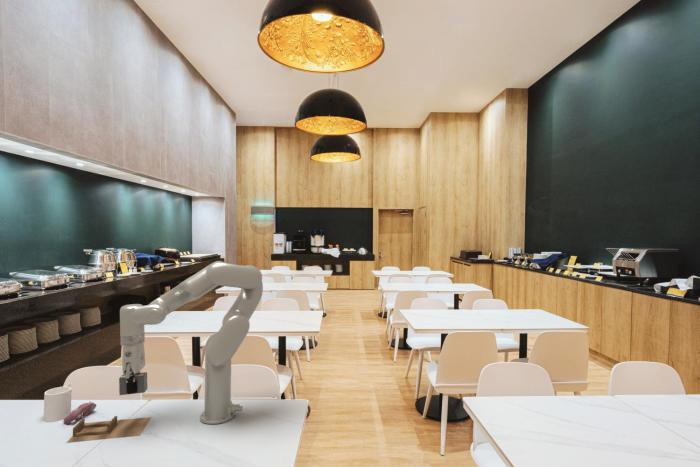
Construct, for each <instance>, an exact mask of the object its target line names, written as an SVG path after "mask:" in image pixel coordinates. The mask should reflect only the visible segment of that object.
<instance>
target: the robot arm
mask: <svg viewBox="0 0 700 467" xmlns="http://www.w3.org/2000/svg"><path fill="white" fill-rule="evenodd" d="M263 284H264V283H263V274H262V272H261V270H260V269H259V268H258V267H256V266H255V265H251V264H246V265H240V264H234V263H228V262H225V261H222V260H217V261H214V262H211V263H210V264H208V265H207V266H205V267H204V268H202V269H201V270H199V271H197V272H196V273H195V274H193V275H191V276H189V277H188V278H185V279H184V280H183V281H182V282H180V283H179V284H178V285H176V286H175V287H173V288H172V289H170V290H168V291H166V292H164V294H162V295H160V296H159V297H157V298H155V299H154V300H153V301H151V302H150V303H149V304H147V305H143V304H140V303H133V304H131V303H130V304H125V305H122V306H121V307H120V309H119V326H120V328H119V330H120V332H119V334H120V338H119V339H120V347H122V358H121V359H122V361H121V363H122V364H121V365H122V375H125V379H126V387H127V395H133V394H132V393H136V392H137V381H136V374H137V373H142V370H143V369H144V367H145V366H146V356H145V355H146V353H145V342H146V340H145V339H146V338H145V337H146V336H145V335H146V334H145V332H146V331H145V325H148V326H150V325H151V326H153V325H159V324H161V323H162V322H164V321H165V319H166V317H167V316H169V315H170V314H171V313H172V312H174V311H175V310H177V309H178V308H180V307H182V306H184V305H186V304H188V303H191V302H194V301H196V300H199V299H200V298H201V297H203V296H204V295H206V294H208V293H209V292H210V291H212V290H214V289H215V288H216V287H219V286H221V287H222V286H223V287H229V288H237V289H241V290H240V291H239V294H238V295H237V297H236V298H235V301H234V302H233V304H232V305H231V306H230V308H229V309H228V311H227V312H226V314H225V315H224V317H223V318H222V324H221V327H220V328H219V330H218V331H217V333H213V334H211V335H210V336H209V337H208V338H207V340H206V343H205V346H204V354H205V356H204V359H205V360H204V362H205V363H204V410H203V412H201V414H200V415H199V420H200V422H201V423H203V424H205V425H217V424H222V423H226V422H228V421H230V420H232V419H233V418H234V417H235V414H236V412H243V410H244V409H243V408H244V406H243V405H241V404H240V403H238V404H234V403H233V401H232V400H231V398H232V397H231V396H232V391H231V390H232V359H233V357H234V356H235V354H236V352H237V351H238V349H239V348H240V346H241V344H242V343H243V342H244V340H245V339H246V337H247V335H248V333H249V331H250V327H251V326H250V319H251V317H252V315H253V314H254V312H255V311H256V309H257V308H258V306H259V304H260V302H261V300H262V296H263V290H264V288H263V287H264V286H263ZM131 375H133V376H131ZM136 394H137V393H136Z"/></svg>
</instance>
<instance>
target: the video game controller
mask: <svg viewBox="0 0 700 467" xmlns="http://www.w3.org/2000/svg"><path fill="white" fill-rule="evenodd" d="M96 408H97V404H96V403H95V402H92V401H89V402H85V403H84V402H83V403H82V404H80V405H79V406H77V407H76V408H74V409H73V410H71V413H70V414H69V415H68V416H67V417H65V419H63V423H64V424H65V425H68V424H70V423H72V422H74V421H75V422H76V423H77V422H78V423H79V422H80V421H81V420H82V419H83V417H85V416H89V414H91V413H92V412H93V411H94V410H95V409H96Z"/></svg>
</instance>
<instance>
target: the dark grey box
mask: <svg viewBox="0 0 700 467" xmlns="http://www.w3.org/2000/svg"><path fill="white" fill-rule="evenodd" d="M131 376H133V375H131ZM136 381H137V392H136V393H132V394H131V395H134V394H135V395H136V394H144V393H145V392H146V391H148V372H141V373H137V374H136ZM118 388H119V391H118V392H119V396H126V395H128V394H127V387H126V379H125V375H124V374H122V375H120V377H119V378H118Z"/></svg>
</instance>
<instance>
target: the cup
mask: <svg viewBox="0 0 700 467" xmlns="http://www.w3.org/2000/svg"><path fill="white" fill-rule="evenodd" d="M72 391H73V390H72V384H71V383H70V384H69V383H68V384H66V385H65V386H59V387H53V388H50V389H48V390H46V391H45V392H44V396H43V398H44V399H43V422H46V423H55V422H59V421H62V420H63V421H64V419H65V417H67V416H68V415H69V414H70V413H71V412H72Z"/></svg>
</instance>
